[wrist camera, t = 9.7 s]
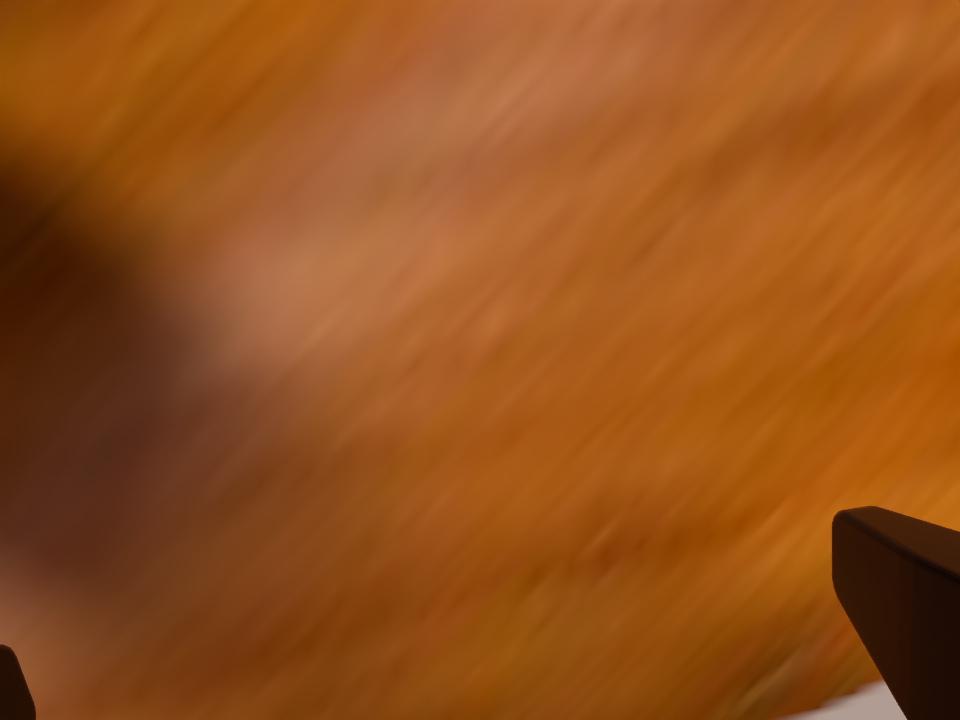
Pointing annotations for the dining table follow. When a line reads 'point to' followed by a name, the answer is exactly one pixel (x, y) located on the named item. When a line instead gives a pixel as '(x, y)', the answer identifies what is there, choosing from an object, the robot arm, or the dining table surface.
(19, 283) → the dining table surface
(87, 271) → the dining table surface
